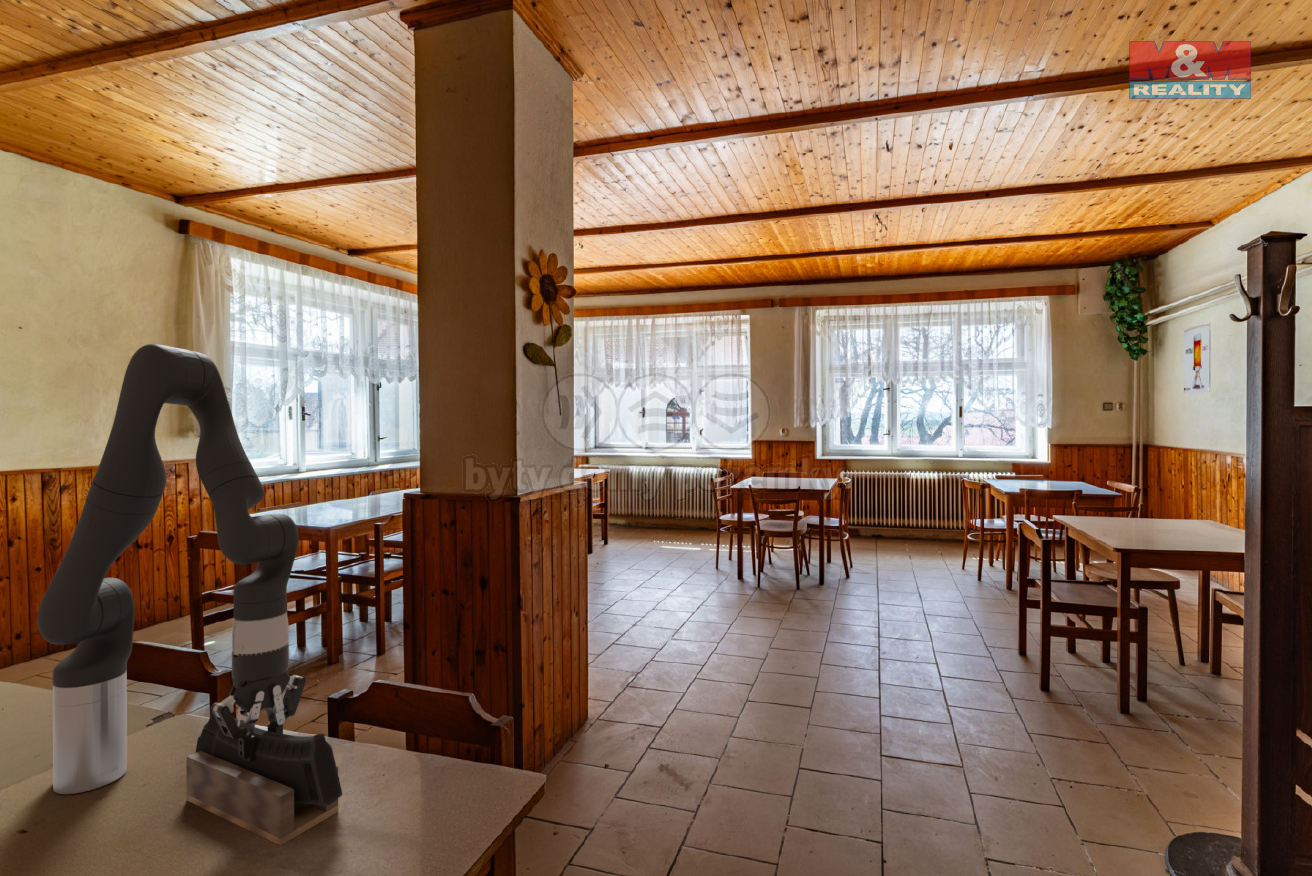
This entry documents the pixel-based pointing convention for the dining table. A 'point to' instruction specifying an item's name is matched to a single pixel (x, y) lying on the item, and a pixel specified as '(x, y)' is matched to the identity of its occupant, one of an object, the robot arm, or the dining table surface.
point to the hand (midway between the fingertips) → (261, 753)
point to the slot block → (250, 799)
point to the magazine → (281, 761)
